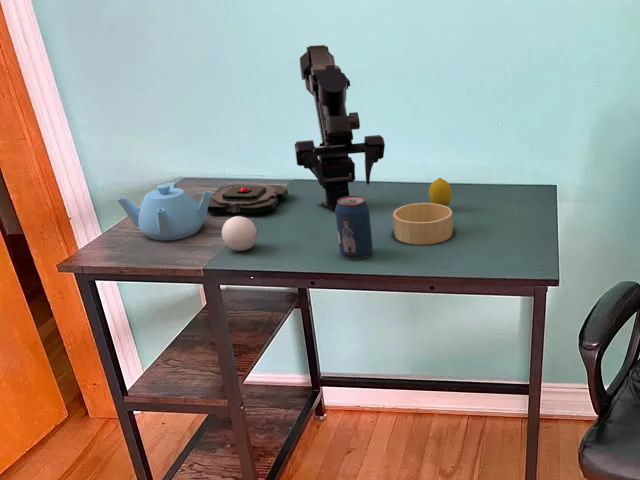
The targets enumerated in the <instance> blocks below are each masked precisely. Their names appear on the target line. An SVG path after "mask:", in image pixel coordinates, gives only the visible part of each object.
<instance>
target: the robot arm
mask: <svg viewBox="0 0 640 480" xmlns="http://www.w3.org/2000/svg"><path fill="white" fill-rule="evenodd" d="M299 70H300V76H301V80H302V81H304V85H305V89H306V91H308V92H309V94H310V95H312V96H313V98H314V105H315V111H316V115H317V116H316V117H317V122H318V128H319V129H318V130H319V135H320V141H321V143H319V145H316V146H315V143H314V140H313V139H310V140H297V141H296V142H295V143H294V151H295V152H294V153H295V159H296V160H295V161H296V166H299V167H303V168H304V169H305V170H309V171H310V172H311V173H312V174H313V176H315V178H316V180H317V181H318V185H319V186H321V187H322V188H323V190H324V195H325V201H323V202H321V203H320V205H321V206H322V207H325V208H326V209H329V210H330V211H331V210H332V211H334V212H335V208H336V205H337V200H338V199H339V198H341V197H345V196H351V195H350V189H349V183H354V182H355V181H356V164H355V162H354V161H353V159H352V157H351V156H349V155H351V154H352V155H353V154H363V153H364V171H365V183H366V185H367V186H368V185H370V181H371V175H372V169H373V166H374V164H375V163H376V164H377V163H378V162H379V160H382V159H383V158H384V157H385V156H384V155H385V149H386V148H385V147H386V144H385V138H384V137H383V136H382V135H381V134H377V135H376V134H375V135H373V134H372V135H364V138H363V139H364V140H363V142H359V143H358V142H357V143H353V140H354V134H353V133H354V132H353V131H354V130H360V128H361V123H360V118H359V111H355V112H349V113H347V112H348V111H347V107H346V103H347V91H348V90H349V87H351V81H350V79H349V78H348V77H347V76H346V74H345V72H342V68H340V66H339V65H336V60H335V56H334V55H333V54H332V53H331V52H330V50H329V46H328V45H325V44H318V45H309V46H307V47H306V52H304V53H303V54H302V55H301V56H300V57H299Z"/></svg>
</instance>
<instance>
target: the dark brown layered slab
mask: <svg viewBox="0 0 640 480" xmlns="http://www.w3.org/2000/svg"><path fill="white" fill-rule="evenodd" d="M213 192H214V193H212V195H213V196H211V197H210V201H209V205H208V209H207V213H208V212H209V213H226V212H230V213H232V214H237V213H239V212H240V213H242V214H243V213H245V214H260V213H263V212H267V211H271V210H272V211H273V210H274V208H275V207H277V205H279V204H278V203H279V200H283V199H285V198H286V197H287V196H288V195H289V191H288V188H287V187H285V186H284V185H279V184H278V185H277V184H263V185H262V184H258V183H253V184H249V183H247V184H246V183H245V184H244V183H233V184H229V185H224V186H220V187H219V188H218V189H216V190H215V191H213Z"/></svg>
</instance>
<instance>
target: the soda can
mask: <svg viewBox="0 0 640 480" xmlns="http://www.w3.org/2000/svg"><path fill="white" fill-rule="evenodd" d="M334 213H335V221H336V228H337V229H336V230H337V238H338V246H339V252H340V253H341V254H342V256H343V257H344V258H345V259H347V260H353V261H356V260H362V259H366V258H368V257H369V256H370V255H371V253H372V251H373V237H372V225H371V214H370V206H369V205H368V203H367V202H366V198H365V197H364V196H361V195H350V196H345V197H341V198H339V199H338V200H337V205H336V208H335V211H334Z"/></svg>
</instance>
